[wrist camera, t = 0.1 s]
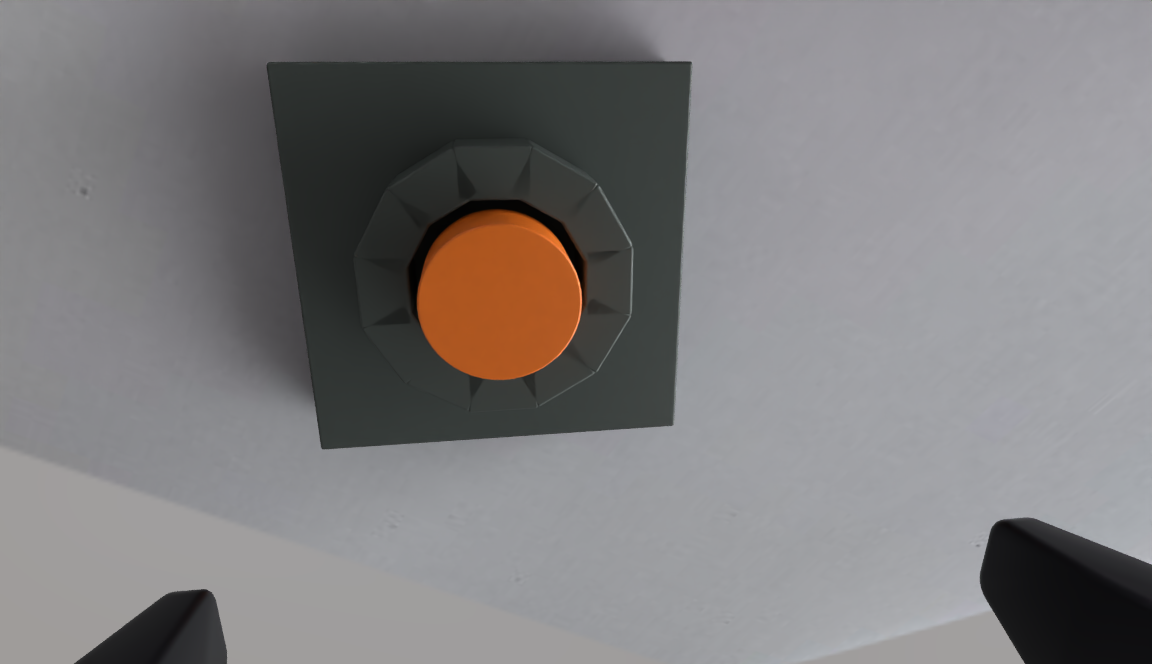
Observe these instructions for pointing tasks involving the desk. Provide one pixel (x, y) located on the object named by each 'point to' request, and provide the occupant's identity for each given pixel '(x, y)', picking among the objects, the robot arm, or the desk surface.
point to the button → (498, 295)
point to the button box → (470, 184)
